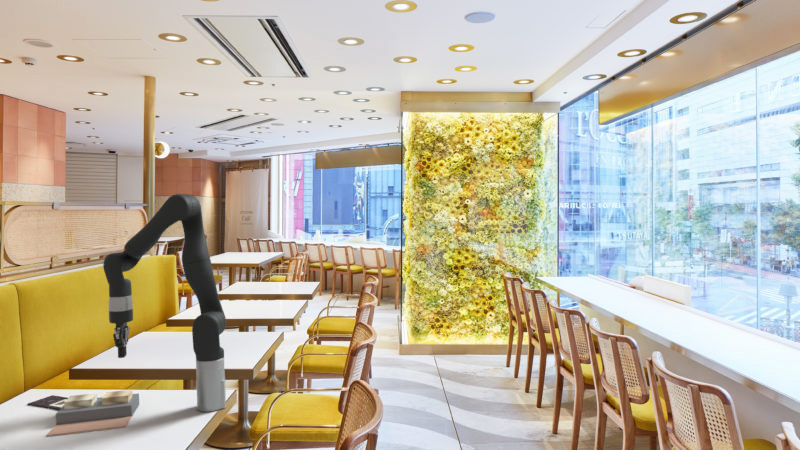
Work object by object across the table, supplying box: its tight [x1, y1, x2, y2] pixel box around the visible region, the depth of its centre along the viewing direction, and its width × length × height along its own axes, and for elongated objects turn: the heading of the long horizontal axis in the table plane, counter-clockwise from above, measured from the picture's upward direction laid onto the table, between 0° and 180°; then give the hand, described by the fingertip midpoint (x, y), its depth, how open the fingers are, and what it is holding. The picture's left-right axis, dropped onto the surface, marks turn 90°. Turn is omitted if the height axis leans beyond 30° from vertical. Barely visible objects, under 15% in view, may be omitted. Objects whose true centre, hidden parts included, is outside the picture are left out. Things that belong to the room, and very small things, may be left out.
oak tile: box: [101, 389, 133, 406], centre depth 176 cm, size 8×6×2 cm
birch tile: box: [64, 392, 98, 410], centre depth 173 cm, size 8×6×2 cm
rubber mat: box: [45, 416, 132, 438], centre depth 164 cm, size 22×8×1 cm, turn 106°
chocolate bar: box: [27, 394, 69, 411], centre depth 186 cm, size 9×1×18 cm
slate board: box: [55, 393, 140, 425], centre depth 174 cm, size 22×12×4 cm, turn 106°
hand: (122, 356), depth 184 cm, fingers closed
